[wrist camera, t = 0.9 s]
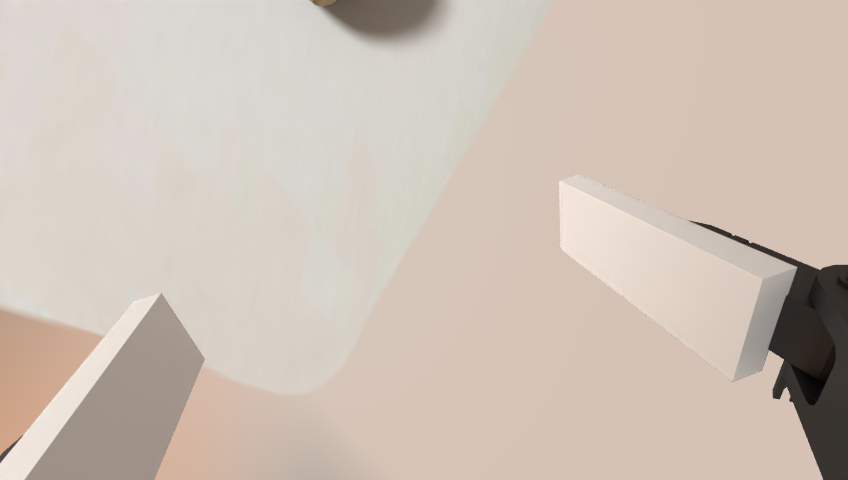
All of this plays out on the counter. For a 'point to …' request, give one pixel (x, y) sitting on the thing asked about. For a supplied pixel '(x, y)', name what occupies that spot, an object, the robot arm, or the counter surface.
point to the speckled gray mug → (323, 2)
